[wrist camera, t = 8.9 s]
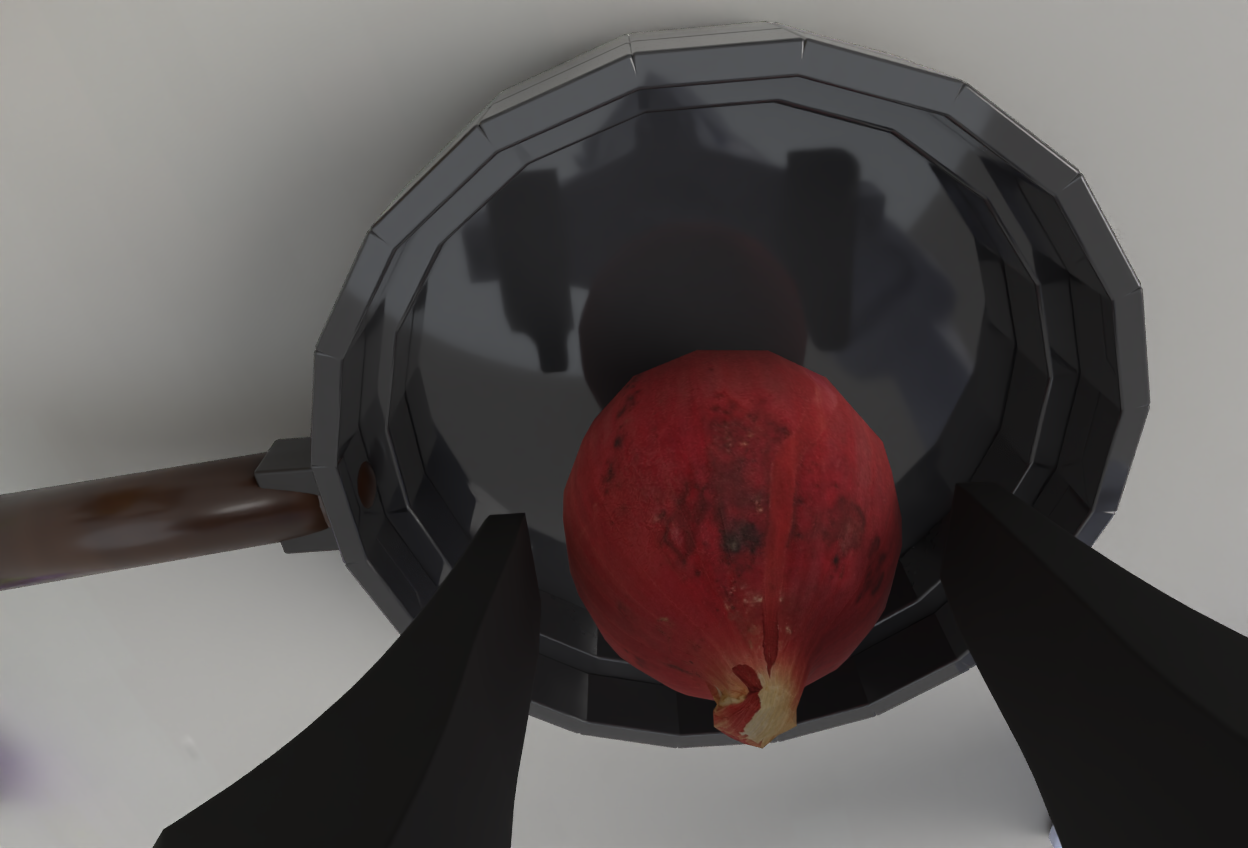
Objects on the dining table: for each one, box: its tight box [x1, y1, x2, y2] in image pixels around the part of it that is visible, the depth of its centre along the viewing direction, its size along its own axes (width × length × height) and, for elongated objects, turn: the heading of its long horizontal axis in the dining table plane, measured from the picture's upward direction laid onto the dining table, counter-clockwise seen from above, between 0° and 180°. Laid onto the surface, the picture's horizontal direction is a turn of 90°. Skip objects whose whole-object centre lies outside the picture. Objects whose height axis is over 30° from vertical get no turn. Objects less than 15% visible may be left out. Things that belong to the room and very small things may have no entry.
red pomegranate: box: [563, 350, 902, 748], centre depth 14 cm, size 6×6×8 cm
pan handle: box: [0, 437, 377, 591], centre depth 15 cm, size 10×2×3 cm, turn 94°
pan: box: [310, 21, 1150, 748], centre depth 16 cm, size 15×15×3 cm
